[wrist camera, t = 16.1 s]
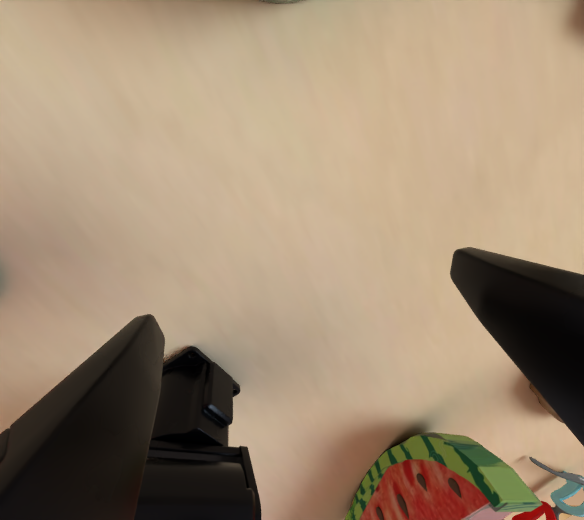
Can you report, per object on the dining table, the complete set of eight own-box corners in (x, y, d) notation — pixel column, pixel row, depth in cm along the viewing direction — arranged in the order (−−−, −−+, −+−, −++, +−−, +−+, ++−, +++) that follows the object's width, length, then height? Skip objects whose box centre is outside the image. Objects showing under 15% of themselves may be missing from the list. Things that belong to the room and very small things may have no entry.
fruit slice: (424, 394, 31) (500, 502, 23) (466, 400, 33) (550, 502, 25) (323, 525, 40) (349, 639, 32) (360, 524, 42) (394, 631, 34)
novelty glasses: (510, 512, 51) (536, 549, 47) (465, 499, 45) (490, 540, 41) (576, 467, 48) (611, 502, 44) (538, 446, 42) (573, 485, 38)
